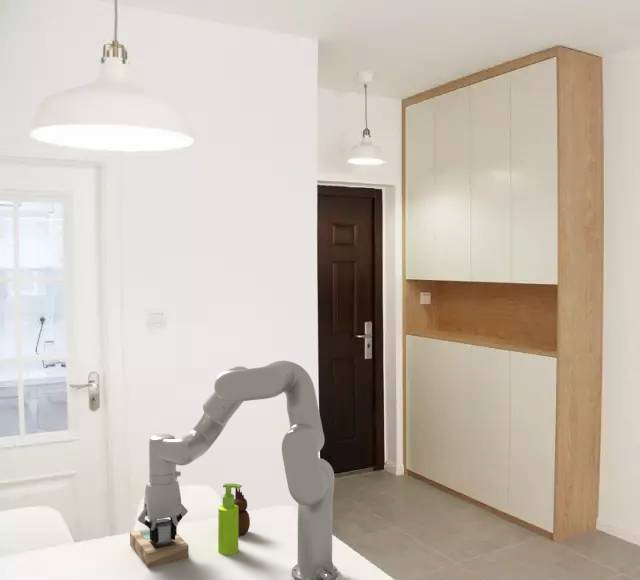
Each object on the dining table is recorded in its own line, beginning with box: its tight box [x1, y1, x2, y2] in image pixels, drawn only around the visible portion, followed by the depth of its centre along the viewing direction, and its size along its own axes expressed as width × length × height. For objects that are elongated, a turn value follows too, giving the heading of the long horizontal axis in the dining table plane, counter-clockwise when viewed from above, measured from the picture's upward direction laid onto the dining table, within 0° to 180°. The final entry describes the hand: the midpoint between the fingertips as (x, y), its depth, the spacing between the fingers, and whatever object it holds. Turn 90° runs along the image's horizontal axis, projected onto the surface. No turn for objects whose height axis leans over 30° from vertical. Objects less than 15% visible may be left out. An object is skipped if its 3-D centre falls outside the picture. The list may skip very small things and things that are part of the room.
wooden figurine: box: [234, 488, 251, 537], centre depth 218 cm, size 7×6×15 cm
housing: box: [129, 528, 189, 568], centre depth 204 cm, size 18×12×4 cm, turn 30°
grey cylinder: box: [155, 518, 172, 549], centre depth 200 cm, size 5×5×10 cm
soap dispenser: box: [217, 483, 243, 556], centre depth 204 cm, size 6×7×20 cm
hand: (163, 539), depth 200 cm, fingers closed on grey cylinder, 4 cm apart
